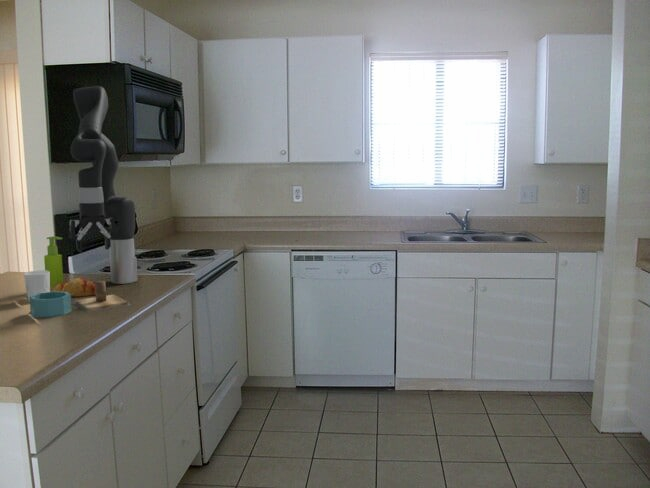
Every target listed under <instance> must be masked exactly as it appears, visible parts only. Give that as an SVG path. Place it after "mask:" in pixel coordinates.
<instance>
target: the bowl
mask: <svg viewBox="0 0 650 488" xmlns="http://www.w3.org/2000/svg"><path fill="white" fill-rule="evenodd" d="M29 306H30V307H29V308H30V316H31V317H32V318H34V319H35V320H36V319H37V318H38V317H39V318H53V317H59V316H65V315H66V314H68V313H70V312H72V311H73V309H72V297H71V294H69V293H68V292H59V291H52V292H44V293H38V294H35V295H33V296H30V301H29Z"/></svg>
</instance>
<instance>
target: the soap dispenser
mask: <svg viewBox="0 0 650 488" xmlns="http://www.w3.org/2000/svg"><path fill="white" fill-rule="evenodd" d="M46 240H48V241H49V245H47V247H46V249H47V254H46V255H44V256H43V258H44V259H43V261H44V270H46V271H49V272H50V288H51V287H52V286H54V285H59V284H60V283H62V282H64V272H63V271H64V269H63V254H59V251H58V245H56V243H55V240H59V241H60V240H63V237H61V236H47V237H46Z"/></svg>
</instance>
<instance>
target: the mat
mask: <svg viewBox="0 0 650 488" xmlns="http://www.w3.org/2000/svg"><path fill="white" fill-rule="evenodd" d="M71 305H74V306H75V307H77V308H78V309H80V310H81V311H82V312H84V313H89V312H96V311H103V310H108V309H114V308H115V309H116V308H121V307H129V306H132V304H131V303H129V302H128V305H123V306H117V307H110V308H104V309H97V310H91V311H87V310H85V309H84V308H82V307H81V306H79V305H78V304H76V302H75V301H74V302H73V301H72V302H71Z"/></svg>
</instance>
